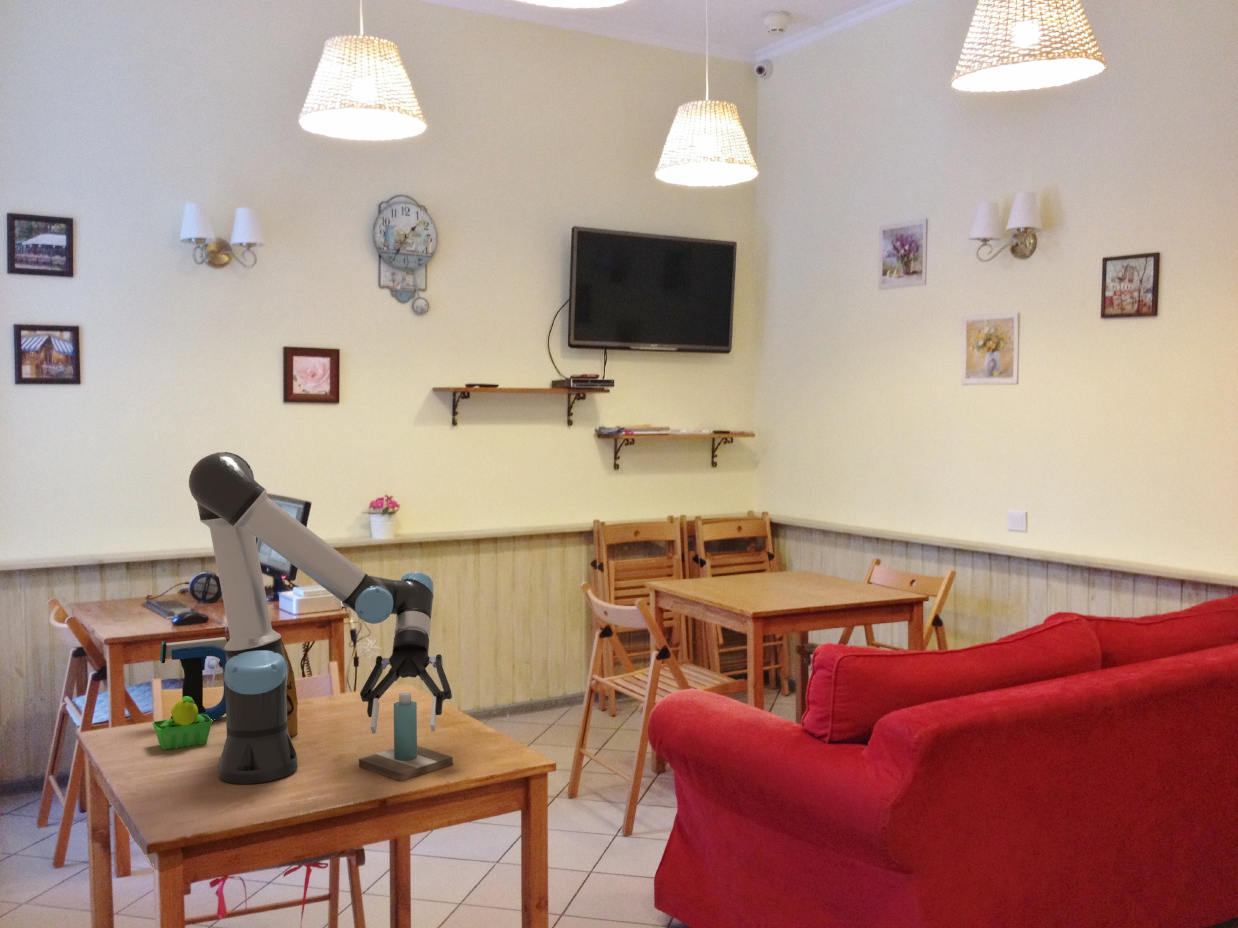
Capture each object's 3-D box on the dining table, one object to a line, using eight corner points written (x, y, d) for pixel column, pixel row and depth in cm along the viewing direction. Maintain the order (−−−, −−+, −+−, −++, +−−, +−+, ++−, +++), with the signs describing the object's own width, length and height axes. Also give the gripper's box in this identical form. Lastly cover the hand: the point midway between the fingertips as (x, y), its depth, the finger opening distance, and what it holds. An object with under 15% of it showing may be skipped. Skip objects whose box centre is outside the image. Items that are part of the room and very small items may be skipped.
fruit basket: (206, 735, 240) (204, 685, 239) (215, 744, 232) (213, 694, 232) (152, 744, 233) (150, 693, 233) (159, 754, 226) (158, 702, 225)
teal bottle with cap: (403, 761, 213) (402, 697, 212) (389, 757, 216) (389, 694, 215) (421, 756, 216) (421, 693, 216) (407, 752, 219) (407, 690, 219)
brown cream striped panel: (400, 780, 207) (400, 772, 207) (359, 766, 216) (358, 758, 216) (452, 764, 216) (452, 756, 216) (410, 750, 226) (410, 743, 226)
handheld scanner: (162, 722, 250) (159, 640, 249) (234, 713, 257) (231, 634, 255) (162, 728, 246) (159, 644, 245) (235, 718, 253) (233, 637, 251)
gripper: (468, 645, 231) (463, 736, 216) (359, 648, 230) (346, 740, 215) (465, 626, 226) (460, 717, 211) (353, 629, 224) (340, 721, 210)
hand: (402, 729), depth 213 cm, fingers open, 11 cm apart
